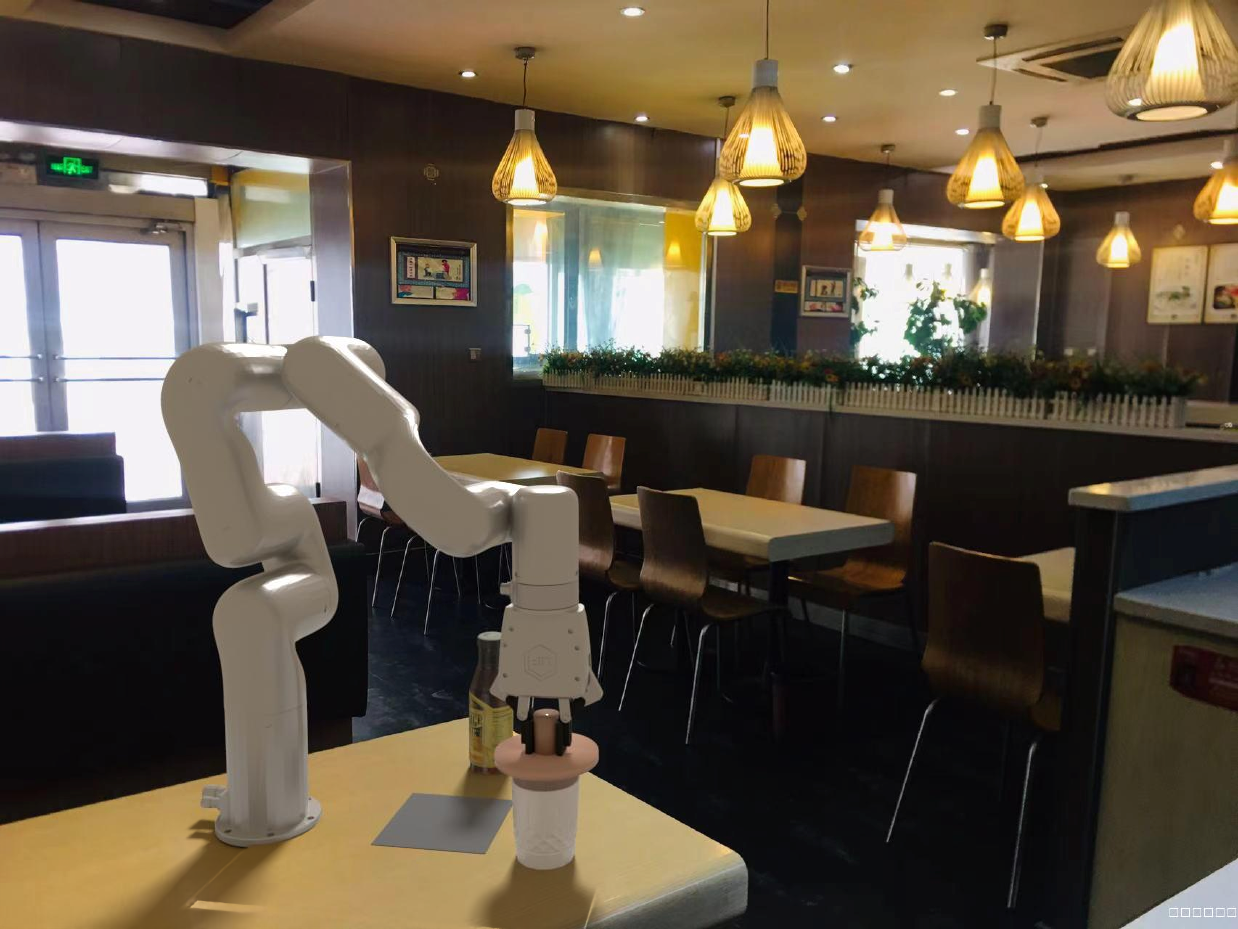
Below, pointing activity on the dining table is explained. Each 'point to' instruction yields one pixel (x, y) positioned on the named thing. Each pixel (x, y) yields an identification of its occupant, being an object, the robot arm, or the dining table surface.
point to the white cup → (545, 821)
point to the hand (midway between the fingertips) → (546, 749)
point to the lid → (546, 753)
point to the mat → (445, 823)
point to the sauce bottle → (487, 708)
